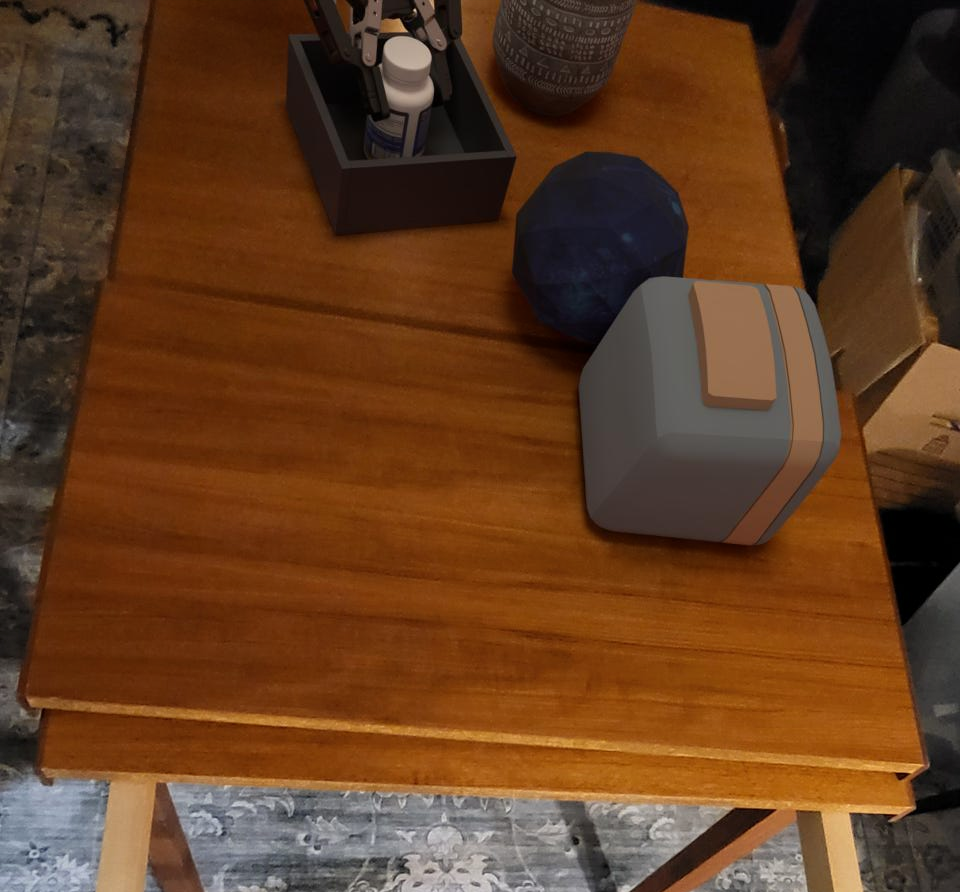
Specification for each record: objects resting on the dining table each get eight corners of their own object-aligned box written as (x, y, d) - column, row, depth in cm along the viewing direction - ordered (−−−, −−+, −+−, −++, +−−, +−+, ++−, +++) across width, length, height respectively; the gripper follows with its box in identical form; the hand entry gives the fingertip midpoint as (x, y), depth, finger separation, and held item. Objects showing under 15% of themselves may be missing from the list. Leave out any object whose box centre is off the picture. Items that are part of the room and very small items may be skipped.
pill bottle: (406, 130, 88) (423, 26, 79) (431, 172, 87) (451, 71, 78) (353, 138, 86) (364, 32, 77) (377, 181, 85) (392, 78, 76)
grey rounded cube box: (769, 557, 79) (882, 442, 65) (582, 538, 76) (659, 413, 61) (744, 398, 85) (843, 262, 71) (571, 374, 82) (638, 226, 68)
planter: (459, 71, 94) (488, -68, 83) (536, 30, 99) (573, -107, 88) (549, 147, 93) (591, 16, 81) (622, 101, 98) (672, -29, 86)
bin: (335, 235, 82) (342, 168, 76) (285, 107, 87) (288, 34, 81) (498, 220, 87) (517, 156, 81) (443, 99, 92) (457, 30, 86)
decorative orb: (731, 313, 82) (720, 119, 72) (614, 387, 75) (585, 184, 66) (609, 297, 91) (586, 124, 82) (496, 361, 85) (457, 182, 76)
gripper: (290, -145, 67) (358, 124, 75) (458, -165, 73) (504, 88, 81) (253, -109, 73) (320, 137, 81) (411, -130, 79) (459, 103, 87)
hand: (412, 111), depth 81 cm, fingers closed on pill bottle, 5 cm apart
